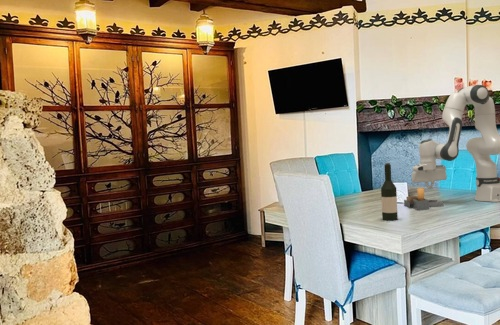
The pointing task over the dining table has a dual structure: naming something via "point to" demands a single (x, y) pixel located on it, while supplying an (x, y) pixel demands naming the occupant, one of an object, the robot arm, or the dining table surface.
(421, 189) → the round peg
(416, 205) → the square tube sleeve
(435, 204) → the bay
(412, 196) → the crate
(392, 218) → the wine bottle
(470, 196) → the dining table surface
